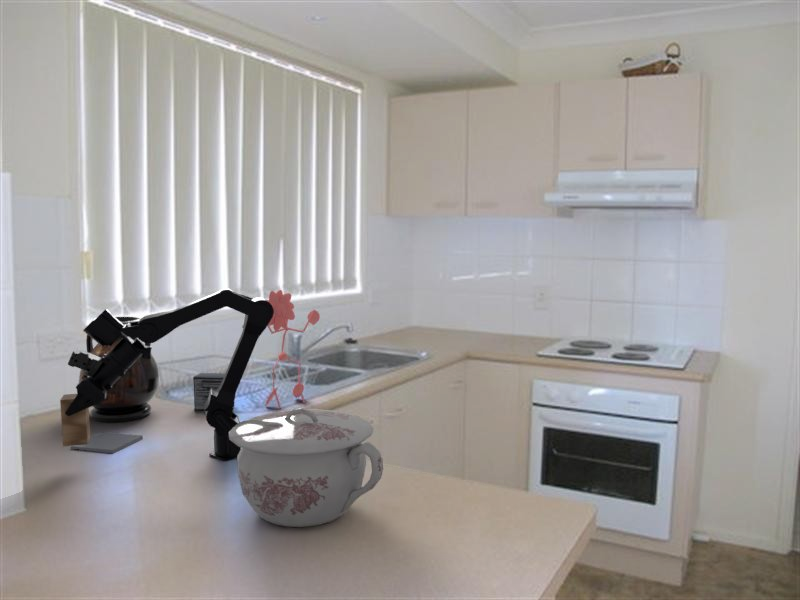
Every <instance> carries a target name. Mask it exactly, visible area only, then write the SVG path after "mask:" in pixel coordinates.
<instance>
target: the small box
mask: <svg viewBox="0 0 800 600" xmlns="http://www.w3.org/2000/svg"><path fill="white" fill-rule="evenodd" d="M225 373H226V372H225ZM225 373H221V372H213V373H212V372H209V373H208V372H201V373H198V374H197V375H194V376H193V377H192V379H193V398H194V401H193V404H194V410H193V411H194V412H206V411H205V408H204V403H205V402H206V401H207V399H208V397H209V393H210V389H212V390H214V391H216V390H217V389H218V388H219V386H220V385H221V383H222V381H223V378H224V376H225ZM234 406H236V405H235V404H234Z"/></svg>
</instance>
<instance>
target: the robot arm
mask: <svg viewBox="0 0 800 600" xmlns="http://www.w3.org/2000/svg"><path fill="white" fill-rule="evenodd" d="M266 299H267V298H265V297H260V296H259V297H258V296H257V297H255V298H254V297H251V296H248V295H245V294H242V293H239V292H237V291H233V290H232V289H230V288H227V287H224V288H221V289H220V290H217V291H216V292H214V293H212V294H209V295H207V296H204V297H202V298H199V299H197V300H194V301H192V302H190V303H187V304H185V305H183V306H180V307H178V308H175V309H172V310H166V311H162V312H157V313H153V314H147V315H144V316H143V317H141V318H140V320H139V321H137V322H131V323H125V324H123V323H121V322H120V321H119V320H118V319H117V318H115V317H116V316H114V314H113V313H112V312H111V311H109V309H108V308H105V309H104V310H103V311H101V313H100V314H98V316H96V317H95V318H94V319H92V321H91V322H89V324H88V325H87V326H86V327H84V329H83V330H82V331H83V332H84V333H85V334H86V335H87V334H88V335H89V336H90V337H91V338H93V340H94V341H95V342H97V344H98V343H99V344H100V345H101V346H102V347H103V346H104V345H106V346H109V347H110V346H111V345H112V344H113V343H114V342H115V341H116V340H117V339H118V338H119V337H120V336H121V337H122V339H121V340H120V341H119V342H118V343H117V344H116V345H115V346H114V347H113V348H112V349H111V350H110V352H109V353H108V354H104V355H103V356H102V357H98V356H96V355H93V354H91V353H88V352H87V351H85V350H82V349H79V348H74V350H73V351H72V353H71V355H70V358H69V360H68V362H67V365H68V366H69V367H71V368H78V369H80V370H81V369H83V370H86V372H85V373H86V374H87V375H89V376H88V377H87V376H86V375H83V377H82V380H81V381H80V382H79V381H78V383H77V384H76V386H75V389H76V394H77V396H76V397H75V399H74V400H73V402H72V403H71V405H70V406H69V408H68V409H67V411H66V412H65V414H66V415H67V416H71V415H73V414H75V413H77V412H80V411H82V410H84V409H86V408H89V409H90V408H92V406H94V405H98V406H99V405H100V404H101V403H102V402H103V401H104V400H105V398H106V396H107V394H106V390H108V391H109V390H110V389H111V388H112V385H113V384H114V383H115V382H116V381H117V380H118V379H119V378H120V377H122V376H123V375H124V374H125V372H126V371H127V370H128V369H129V368H130V367H131V366H132V365H133V364H134V363H135V362H136V361H137V360H138V359H139V358H140V357H141V356H142V355H144V356H145V357H146V358H147V359H151V356H153V354H152V348H153V347H152V345H151V346H145V343H151V344H154V343H156V342H158V341H159V340H162V338H164V337H165V336H167V335H168V334H171V332H173V331H174V330H175V329H177V328H179V327H180V326H182V325H184V324H187V323H190V322H192V321H194V320H196V319H199V318H202V317H204V316H206V315H209V314H211V313H212V314H213V313H214V312H216V311H218V310H221V309H224V308H225V307H227V308H228V309H229V308H230V309H232V310H234V311H237V312H239V313H241V314H244V315H245V316H244V321H243V324H244V326H243V325H242V326H243V328H242V332H241V335H240V338H239V339H238V342H237V344H236V347H235V349H234V352H233V354H232V357H231V359H230V361H229V364H228V365H227V366H228V367H227V368H226V371H225V376H224V378H223V381H222V383H221V385H220V386H219V388H218V389H217V390H216V391H214V390H212V389H210V393H209V397H208V399H207V401H206V402H205V403H204V408H205V411H204V412H205V419H206V422H207V424H208V425H209V426H210V427H211V428H213V434H214V435H213V444H214V448H213V449H214V451H212V452H209V453H208V455H209V456H210V457H213V458H214V459H218V460H221V461H223V462H224V461H225V462H226V461H229V460H233V459H237V456H238V454H239V452H240V450H241V447H239V446H237V445H236V444H235V443H233V442H232V441H231V440H229V431H230V430H231V429H232V428H233V427H234V426H235V425H236V424H238V423H240V419H239V416H238V414H236V413H235V412H234V408H235V407H234V405H235V399H236V393H237V390H238V388H239V386H240V383H241V381H242V378H243V377H244V374H245V370H246V368H247V366H248V364H249V360H250V358H251V356H252V354H253V352H254V349H255V346H256V344H257V342H258V340H259V338H260V336H261V335H262V334H263V332H265V330H266V328H268V326H267V325H268V324H269V322H270V321H271V319H272V317H273V314H274V309H273V307H272V305H271V304H270V303H269V302H268V301H267V300H268V299H267V300H266ZM130 337H134V338H137V339H135V340H132V339H131V338H130ZM103 387H104V388H105V389H104V388H103ZM233 407H234V408H233Z"/></svg>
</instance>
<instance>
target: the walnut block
mask: <svg viewBox="0 0 800 600" xmlns="http://www.w3.org/2000/svg"><path fill="white" fill-rule="evenodd" d="M76 396H77V393H68V394H66V393H65V394H63V396H61V398H60V399H59V402H60V418H61V419H60V421H61V422H60V423H61V435H62V437H61V438H62V447H71V446H73V445H85V444H88V442H89V439H90V437H91V428H90V427H91V426H90V407H89V408H86V409H84V410H82V411H80V412H77V413H75V414H73V415H71V416H67V415H66V414H65V412H66V411H67V409H68V408H69V406H70V405H71V403H72V402H73V400H74V399H75V397H76Z"/></svg>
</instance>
